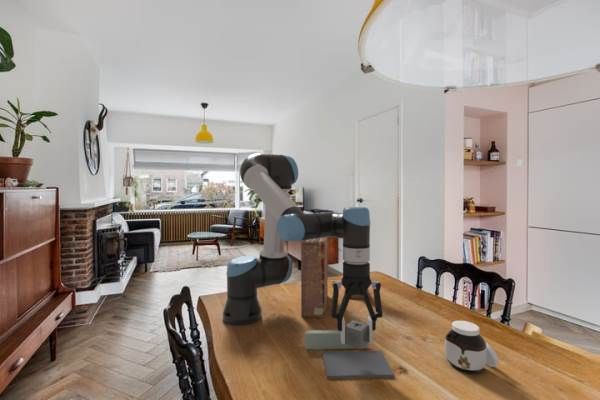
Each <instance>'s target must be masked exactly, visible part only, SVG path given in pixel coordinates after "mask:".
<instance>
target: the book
mask: <svg viewBox="0 0 600 400" xmlns="http://www.w3.org/2000/svg"><path fill="white" fill-rule="evenodd" d="M328 241H329V237H326V238H317V239H309V240H301V241H300V247H301V248H300V253H301V254H300V255H301V256H300V258H301V259H300V260H301V262H300V265H301V266H300V271H301V272H300V278H301V279H300V280H301V281H300V282H301V283H300V284H301V285H300V289H301V290H300V295H301V296H300V298H301V302H300V307H301V308H300V309H301V311H300V313H301V315H300V316H301V317H303V318H305V317H307V318H319V319H320V318H322V319H323V318H324V319H325V317H326V311H327V310H326V309H327V303H328V302H327V301H328V296H329V295H328V282H329V281H328V275H329V274H328V273H329V271H328V270H329V269H328V268H329V267H328V258H329V257H328V252H329V251H328V249H329V248H328V245H329V243H328Z"/></svg>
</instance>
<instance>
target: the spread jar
mask: <svg viewBox="0 0 600 400" xmlns="http://www.w3.org/2000/svg"><path fill="white" fill-rule="evenodd" d="M444 354H445V358H446V360H447V361H448V362H449V364H450V365H451V366H452V367H453V368H455V369H456V370H458V371H460V372H463V373H466V374H475V373H476V374H477V373H479V372H481V371H483V369H484V368H485V366H486V365H487V366H489V367H491V368H495V367H496V366H498V365H499V364H500V359H499V356H498V355H497V353H496V351H495V349H493V347H492V345H490V344H489V343H488V342H486V341H485V338H483V336H482V335H481V334H480V327H479V325H477V324H475V323H473V322H470V321H468V320H454V321H453V322H451V329H450V330H449V331H448V332H447V333H446V335H445V339H444Z"/></svg>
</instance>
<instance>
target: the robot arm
mask: <svg viewBox="0 0 600 400" xmlns="http://www.w3.org/2000/svg"><path fill="white" fill-rule="evenodd" d="M239 176H240V179H241V181H242V183H243V184H244V186H246V187H247V188H248V189H250V190H253V192H254V193H255V195H256V196H257V197H258V198H259V199H260V200H261V202H262V203H263V204H264V206H265V213H264V214H265V215H264V231H263V233H264V234H263V235H264V236H263V247H262V250H261V251H259V258H257V257H256V255H242V256H238V257H235V258H233V259H230V261H228V262H227V267H226V289H227V291H226V297H227V298H226V302H225V305H224V307H223V312H222V321H224V322H225V323H226V324H230V325H234V326H242V325H243V326H244V325H249V324H253V323H255V322H257V321H259V320H260V319H261V318H262V313H263V312H262V307H261V304H260V300H259V298H258V289H261V288H264V287H270V286H276V285H277V286H278V285H280V284H283V283H287V281H289V280H290V279H291V276H292V273H293V263H292V259H291V257H290V256H289V255H288V252H287V251H286V250H285V243H286V242H301V241H302V240H309V239H317V238H326V237H328V238H338V239H342V260H343V262H342V278H341V280H338V281H334V280H333V281H332V282H331V285H332V289H333V290H332V297H331V298H332V299H331V307H330V316H331V319H335V320H336V328H337V330H338V331H341V341H342V344H345V325H346V320H345V317H344V316H345V313H346V310H347V307H348V306H349V302H350V298H351V296H352V295H357V294H358V295H362V296H363V298H364V299H363V302H364V303H365V306H366V309H367V312H368V314H369V316H367V317H366V318H367V319H366V320H367V321H366V322H367V323H366V324H368V325H369V345H371V344H373V332H374V331H376V330H377V328H376V327H377V325H376V324H377V323H376V322H377V320H378V318H379V319H380V318H383V316H384V315H383V310H382V300H381V299H382V298H381V288H382V283H380V282H379V280H372V279H371V275H370V274H371V269H370V268H371V263H370V259H371V252H370V246H371V244H370V243H371V242H370V237H371V236H370V235H371V234H370V233H371V232H370V231H371V218H370V209H369V208H367V207H366V206H365V207H364V206H347V207H345V206H344V207H343V209H342V213H341V212H335V211H334V212H333V211H322V212H321V211H320V212H316V213H315V212H314V213H312V212H311V213H305V212H303V210H302V209H301V208H300V207H299V206H298V205H297V204H296V203H295V202H294V201H293V200H292V198H291V197H289V196H288V193H289V192H290V191H291V190H292V185H294V184H295V183H296V182H297V180H299V179H298V177H299V167H298V164H297V162H296V161H295V159H294V158H293V157H291V156H290V155H289V156H288V155H285V154H270V153H252V154H250V155H248V156H247V157H246V158H245V159H244V160H243V161H242V163H241V164H240V168H239ZM342 286H343V287H344V288H345V289H346V290H345V291H344V295H343V297H342V299H341V303H340V305H339V308H338V303H339V302H338V301H339V295H340V292H339V291H340V290H341V287H342ZM370 287H371V288H372V291H373V299H374V308H375V309H374V308H373V305H372V303H371V300H370V299H369V297H368V294H367V289H368V290H369V288H370Z"/></svg>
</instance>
